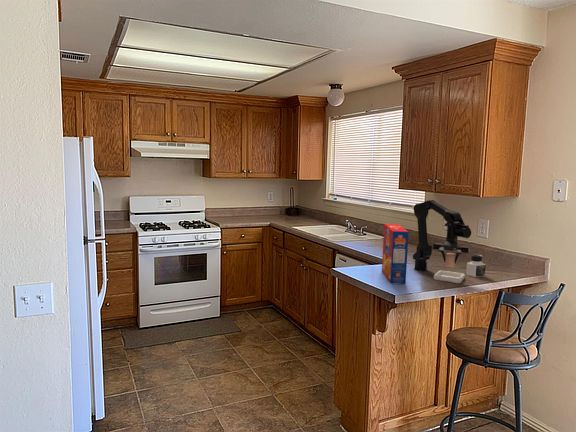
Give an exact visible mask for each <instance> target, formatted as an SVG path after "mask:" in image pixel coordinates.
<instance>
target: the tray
mask: <svg viewBox="0 0 576 432" xmlns="http://www.w3.org/2000/svg"><path fill="white" fill-rule="evenodd" d="M465 274H466V273H462V272H455V271H448V270H438V271H437V272H436V273H435V274H433V280H435V281H441V282H449V283H453V284H461V283H462V282H463V280H465V276H466V275H465Z"/></svg>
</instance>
